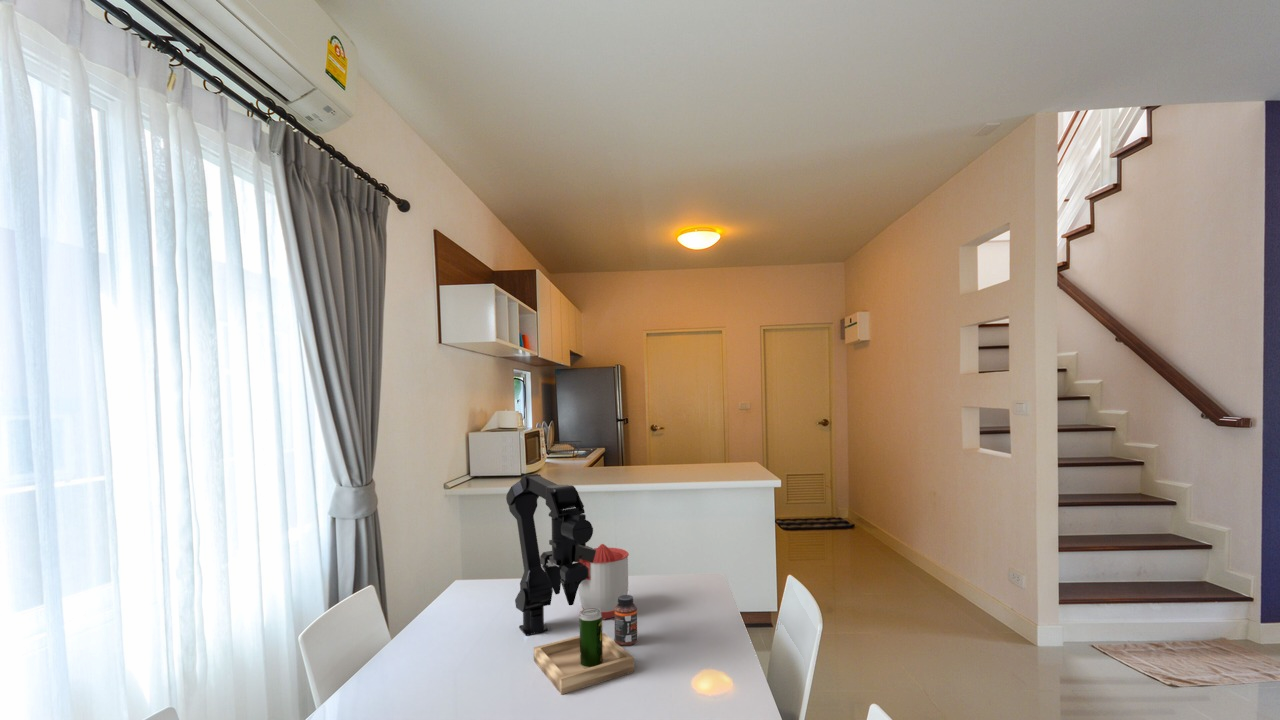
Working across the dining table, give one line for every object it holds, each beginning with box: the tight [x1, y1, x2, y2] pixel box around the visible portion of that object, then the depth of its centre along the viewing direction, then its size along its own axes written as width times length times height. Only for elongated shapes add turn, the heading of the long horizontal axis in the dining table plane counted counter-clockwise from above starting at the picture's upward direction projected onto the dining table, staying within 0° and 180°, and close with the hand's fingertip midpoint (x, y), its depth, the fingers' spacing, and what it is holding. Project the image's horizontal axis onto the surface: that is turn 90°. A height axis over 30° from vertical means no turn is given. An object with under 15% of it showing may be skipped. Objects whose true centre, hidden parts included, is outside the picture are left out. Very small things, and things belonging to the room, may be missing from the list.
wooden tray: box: [533, 631, 635, 695], centre depth 128 cm, size 18×18×3 cm
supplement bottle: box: [614, 594, 638, 647], centre depth 141 cm, size 6×6×11 cm
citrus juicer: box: [576, 543, 630, 620], centre depth 161 cm, size 16×17×20 cm
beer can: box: [578, 608, 603, 669], centre depth 127 cm, size 5×5×12 cm
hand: (564, 599), depth 137 cm, fingers open, 9 cm apart
